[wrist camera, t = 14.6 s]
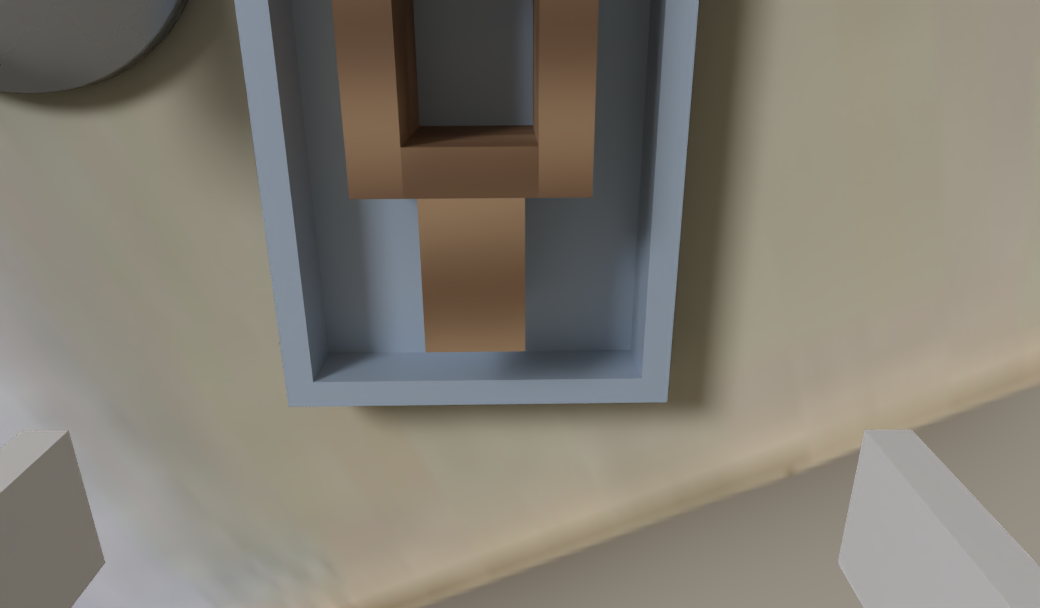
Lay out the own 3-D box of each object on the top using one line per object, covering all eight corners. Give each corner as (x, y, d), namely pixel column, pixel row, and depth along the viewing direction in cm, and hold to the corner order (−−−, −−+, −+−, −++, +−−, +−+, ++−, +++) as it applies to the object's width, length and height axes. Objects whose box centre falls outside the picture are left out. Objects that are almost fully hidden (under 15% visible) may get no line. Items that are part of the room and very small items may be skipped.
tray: (694, -252, 22) (722, -293, 19) (651, 366, 30) (667, 402, 27) (234, -254, 22) (194, -296, 19) (309, 370, 29) (288, 406, 26)
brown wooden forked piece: (352, -173, 22) (310, -227, 17) (584, -172, 22) (606, -225, 18) (386, 298, 28) (363, 353, 23) (573, 296, 28) (587, 350, 23)
